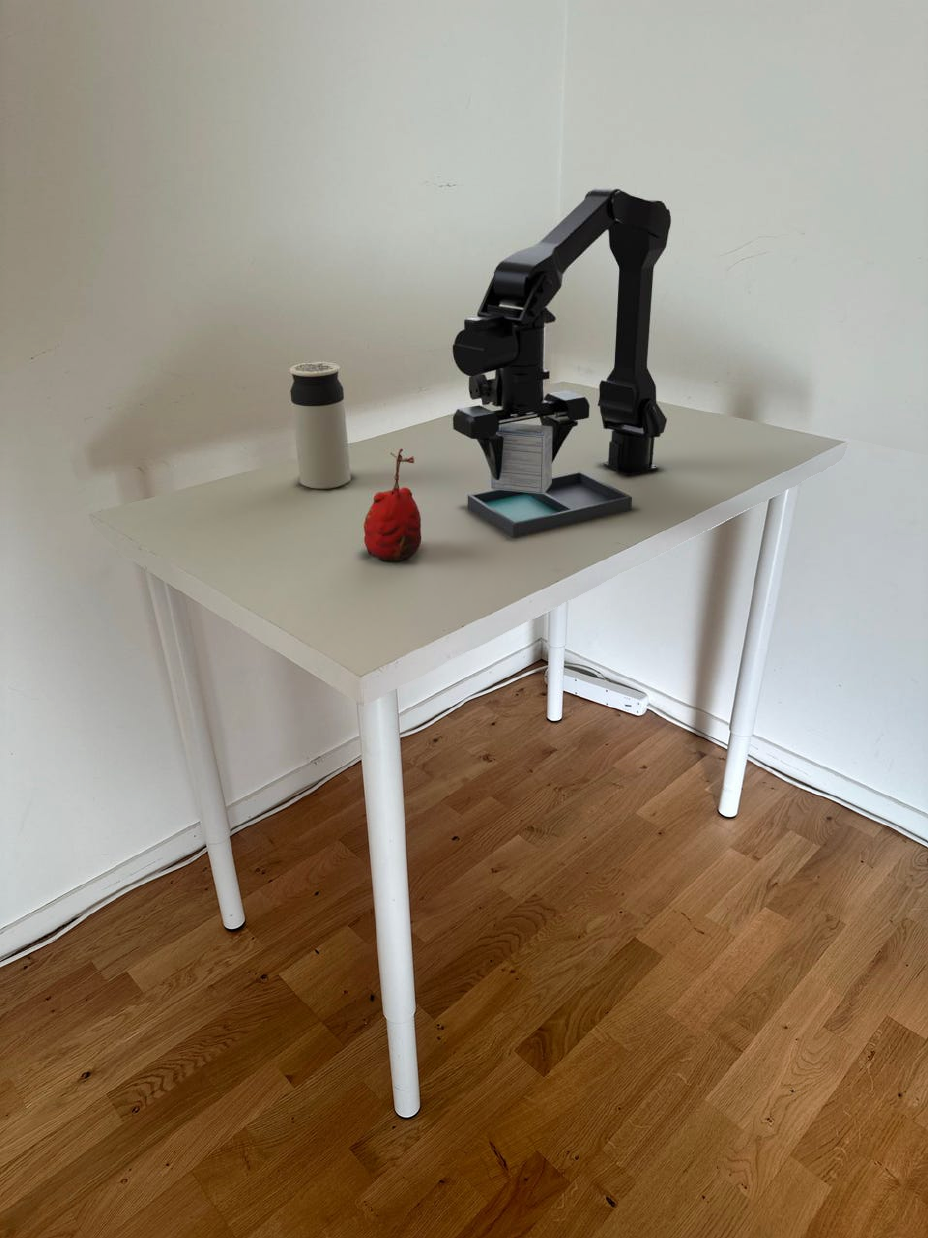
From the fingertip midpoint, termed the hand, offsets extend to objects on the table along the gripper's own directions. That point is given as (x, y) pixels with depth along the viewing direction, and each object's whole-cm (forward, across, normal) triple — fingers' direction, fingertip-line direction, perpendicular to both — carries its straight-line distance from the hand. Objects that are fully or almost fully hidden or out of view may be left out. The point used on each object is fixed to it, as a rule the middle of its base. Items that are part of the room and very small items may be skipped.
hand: (521, 473), depth 128 cm
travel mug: (+6, +19, -28) cm, 35 cm away
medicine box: (+2, 0, 0) cm, 2 cm away
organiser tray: (+6, -5, 0) cm, 8 cm away
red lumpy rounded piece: (+6, +21, +3) cm, 22 cm away
